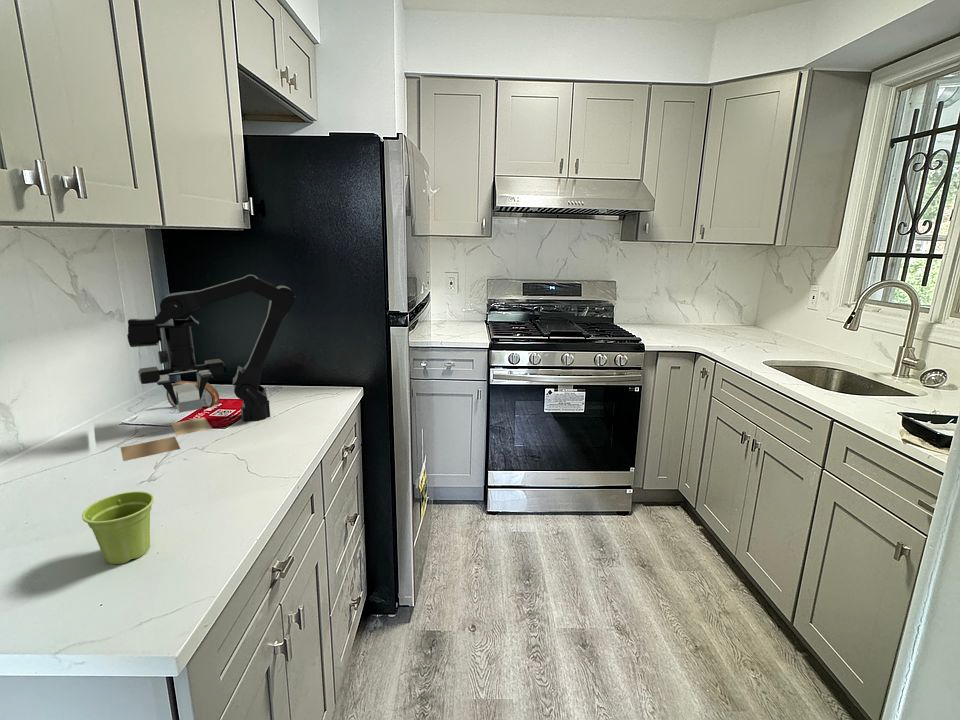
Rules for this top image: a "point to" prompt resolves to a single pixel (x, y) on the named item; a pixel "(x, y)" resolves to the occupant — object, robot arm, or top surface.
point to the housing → (187, 397)
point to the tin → (208, 396)
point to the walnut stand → (149, 448)
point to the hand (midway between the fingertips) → (187, 402)
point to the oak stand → (191, 426)
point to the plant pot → (121, 525)
